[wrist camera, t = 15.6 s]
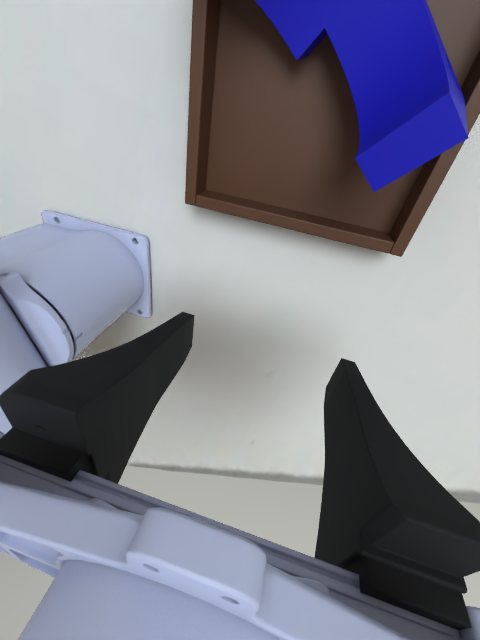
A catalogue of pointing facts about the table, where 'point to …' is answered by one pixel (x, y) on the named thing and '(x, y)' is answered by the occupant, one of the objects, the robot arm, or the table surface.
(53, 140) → the table surface
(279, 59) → the tray
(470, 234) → the table surface
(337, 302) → the table surface
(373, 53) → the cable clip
